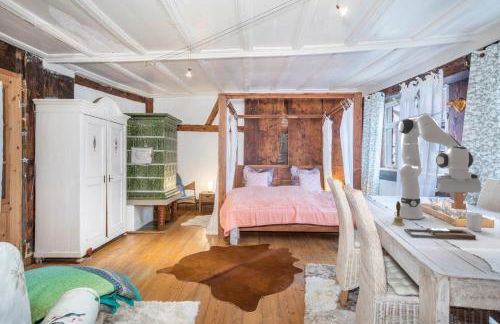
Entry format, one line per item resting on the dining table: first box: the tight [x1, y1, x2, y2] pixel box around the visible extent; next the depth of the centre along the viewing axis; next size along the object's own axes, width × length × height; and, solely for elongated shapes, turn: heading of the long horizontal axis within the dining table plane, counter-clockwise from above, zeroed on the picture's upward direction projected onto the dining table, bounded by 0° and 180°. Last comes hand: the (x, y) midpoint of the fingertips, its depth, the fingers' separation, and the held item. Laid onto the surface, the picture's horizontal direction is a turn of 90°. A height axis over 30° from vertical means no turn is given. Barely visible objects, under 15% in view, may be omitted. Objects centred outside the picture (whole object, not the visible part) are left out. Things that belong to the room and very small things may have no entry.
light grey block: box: [438, 228, 450, 233], centre depth 159 cm, size 4×4×3 cm
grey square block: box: [429, 227, 441, 235], centre depth 159 cm, size 4×4×3 cm
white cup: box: [465, 211, 483, 232], centre depth 172 cm, size 8×8×10 cm
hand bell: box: [390, 200, 405, 226], centre depth 183 cm, size 8×8×16 cm
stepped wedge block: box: [450, 192, 467, 211], centre depth 157 cm, size 5×5×10 cm
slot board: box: [426, 227, 477, 241], centre depth 158 cm, size 14×19×3 cm
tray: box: [403, 228, 437, 239], centre depth 161 cm, size 12×12×2 cm
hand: (458, 200), depth 157 cm, fingers closed on stepped wedge block, 3 cm apart
